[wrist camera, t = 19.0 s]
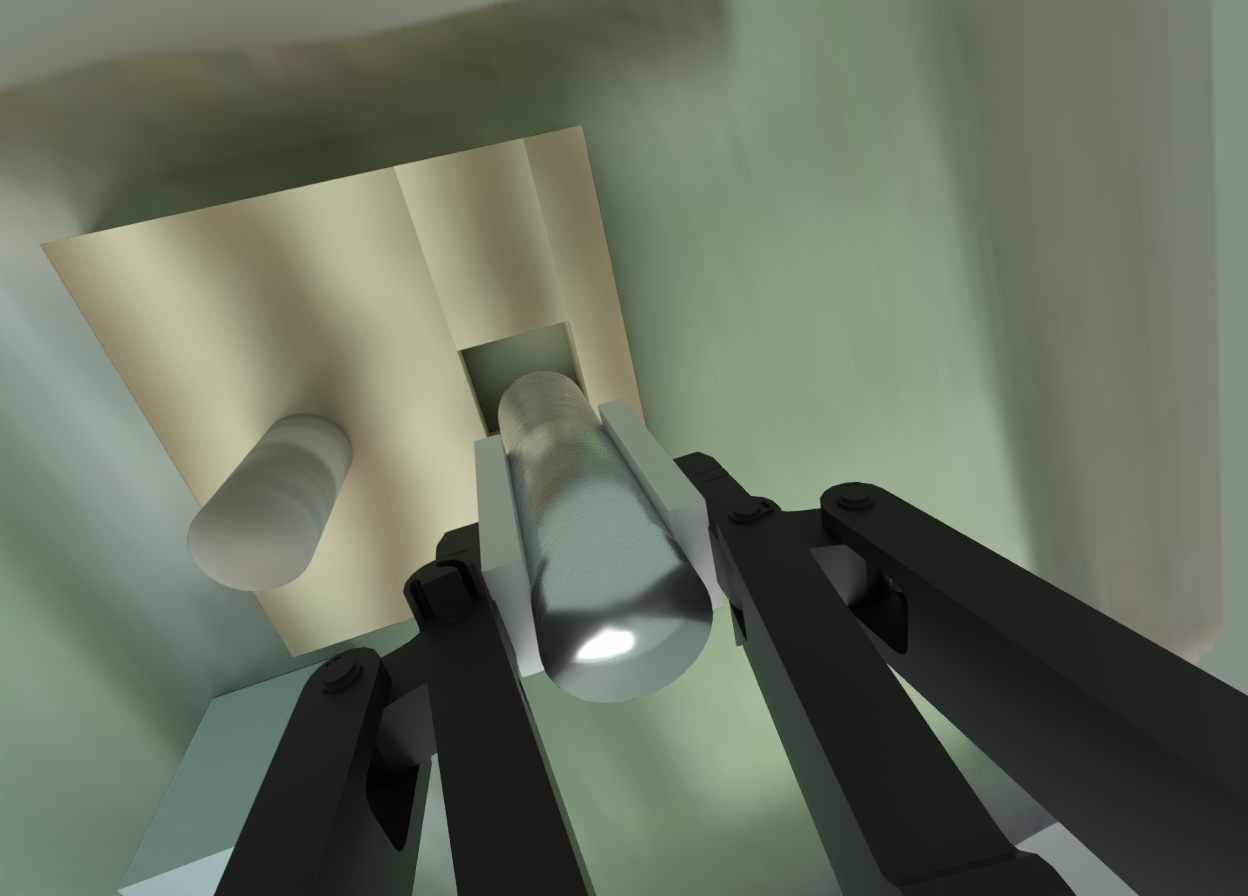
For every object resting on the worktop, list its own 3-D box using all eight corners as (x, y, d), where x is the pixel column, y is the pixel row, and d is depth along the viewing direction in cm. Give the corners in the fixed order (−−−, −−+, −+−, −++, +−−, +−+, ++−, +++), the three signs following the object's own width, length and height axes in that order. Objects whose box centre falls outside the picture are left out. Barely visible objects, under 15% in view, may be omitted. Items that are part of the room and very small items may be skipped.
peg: (513, 465, 22) (565, 725, 11) (485, 385, 20) (515, 592, 10) (596, 440, 22) (724, 666, 11) (574, 359, 21) (698, 530, 10)
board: (305, 622, 29) (241, 799, 20) (84, 240, 21) (-172, 265, 12) (653, 508, 31) (726, 623, 23) (570, 132, 23) (633, 92, 15)
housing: (277, 789, 32) (216, 987, 24) (212, 698, 29) (117, 890, 21) (406, 742, 33) (390, 917, 25) (356, 649, 30) (319, 814, 22)
